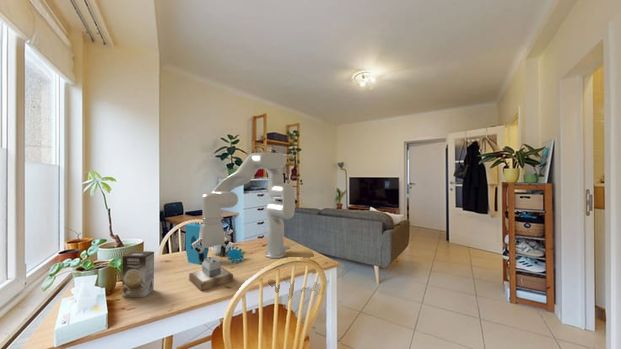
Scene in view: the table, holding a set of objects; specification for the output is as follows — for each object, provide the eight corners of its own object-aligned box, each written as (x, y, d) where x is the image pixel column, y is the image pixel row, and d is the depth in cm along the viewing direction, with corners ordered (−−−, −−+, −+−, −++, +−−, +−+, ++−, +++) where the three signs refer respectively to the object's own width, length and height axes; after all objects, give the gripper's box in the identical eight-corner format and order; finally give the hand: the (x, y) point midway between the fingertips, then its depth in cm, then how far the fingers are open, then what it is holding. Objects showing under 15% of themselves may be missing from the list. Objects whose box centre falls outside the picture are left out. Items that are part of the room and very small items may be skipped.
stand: (219, 271, 124) (219, 265, 124) (232, 281, 114) (233, 273, 114) (189, 280, 114) (189, 272, 114) (201, 291, 104) (201, 283, 104)
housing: (213, 269, 119) (213, 255, 119) (220, 274, 113) (220, 260, 113) (202, 272, 115) (202, 258, 115) (209, 277, 109) (209, 262, 109)
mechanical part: (236, 253, 152) (236, 233, 152) (217, 258, 143) (218, 237, 142) (226, 249, 159) (226, 230, 159) (207, 253, 150) (208, 233, 150)
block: (184, 261, 137) (185, 224, 136) (192, 258, 141) (192, 222, 141) (202, 264, 132) (202, 226, 132) (209, 261, 137) (209, 224, 137)
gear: (229, 262, 132) (225, 245, 137) (224, 268, 134) (220, 251, 140) (248, 260, 139) (243, 244, 145) (243, 266, 142) (238, 250, 148)
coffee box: (121, 297, 98) (121, 256, 98) (132, 289, 105) (132, 250, 105) (145, 297, 99) (145, 256, 98) (154, 289, 105) (154, 250, 105)
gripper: (226, 216, 122) (226, 251, 123) (188, 222, 110) (189, 261, 111) (233, 219, 117) (234, 255, 118) (194, 225, 105) (195, 266, 106)
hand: (212, 258), depth 114 cm, fingers open, 9 cm apart
